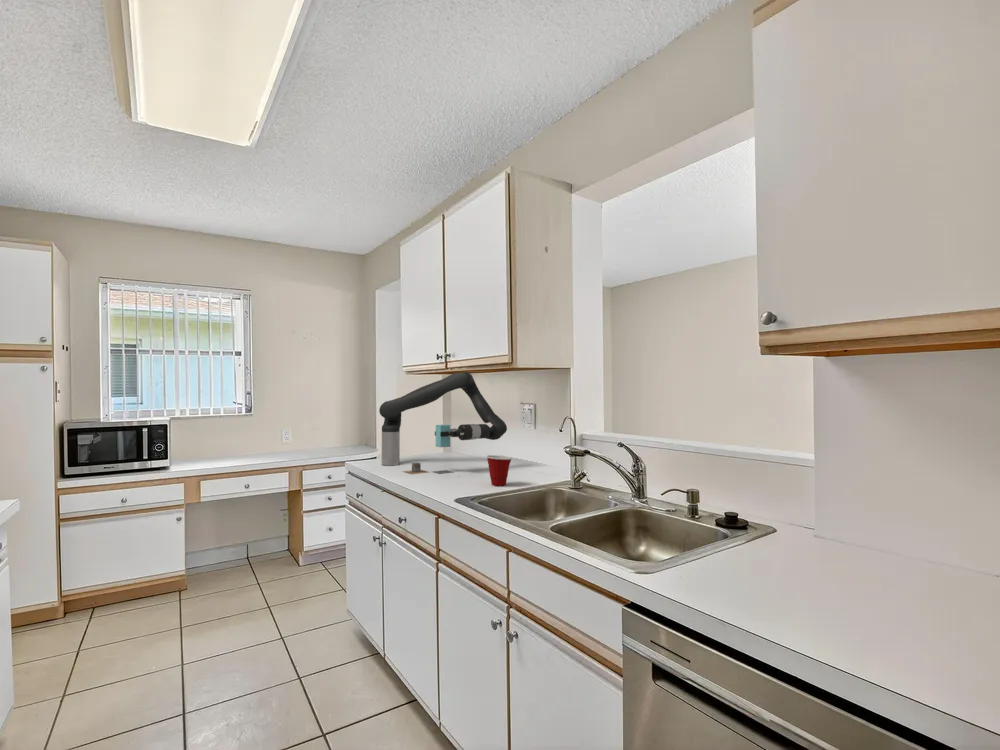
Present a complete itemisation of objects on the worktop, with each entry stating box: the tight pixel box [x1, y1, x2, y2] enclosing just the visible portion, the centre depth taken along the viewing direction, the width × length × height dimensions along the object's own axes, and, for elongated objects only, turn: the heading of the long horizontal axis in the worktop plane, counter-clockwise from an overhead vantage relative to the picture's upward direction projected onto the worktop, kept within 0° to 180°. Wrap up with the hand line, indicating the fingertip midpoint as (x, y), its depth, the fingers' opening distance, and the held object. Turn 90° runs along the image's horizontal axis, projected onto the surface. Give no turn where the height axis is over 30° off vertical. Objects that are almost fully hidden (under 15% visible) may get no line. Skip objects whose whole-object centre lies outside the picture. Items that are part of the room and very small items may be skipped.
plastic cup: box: [485, 454, 513, 487], centre depth 214 cm, size 11×11×12 cm
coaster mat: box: [432, 469, 455, 475], centre depth 241 cm, size 8×8×1 cm
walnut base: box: [402, 462, 431, 475], centre depth 242 cm, size 10×10×5 cm
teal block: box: [435, 424, 451, 448], centre depth 242 cm, size 5×5×10 cm
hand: (438, 433), depth 240 cm, fingers closed on teal block, 5 cm apart
